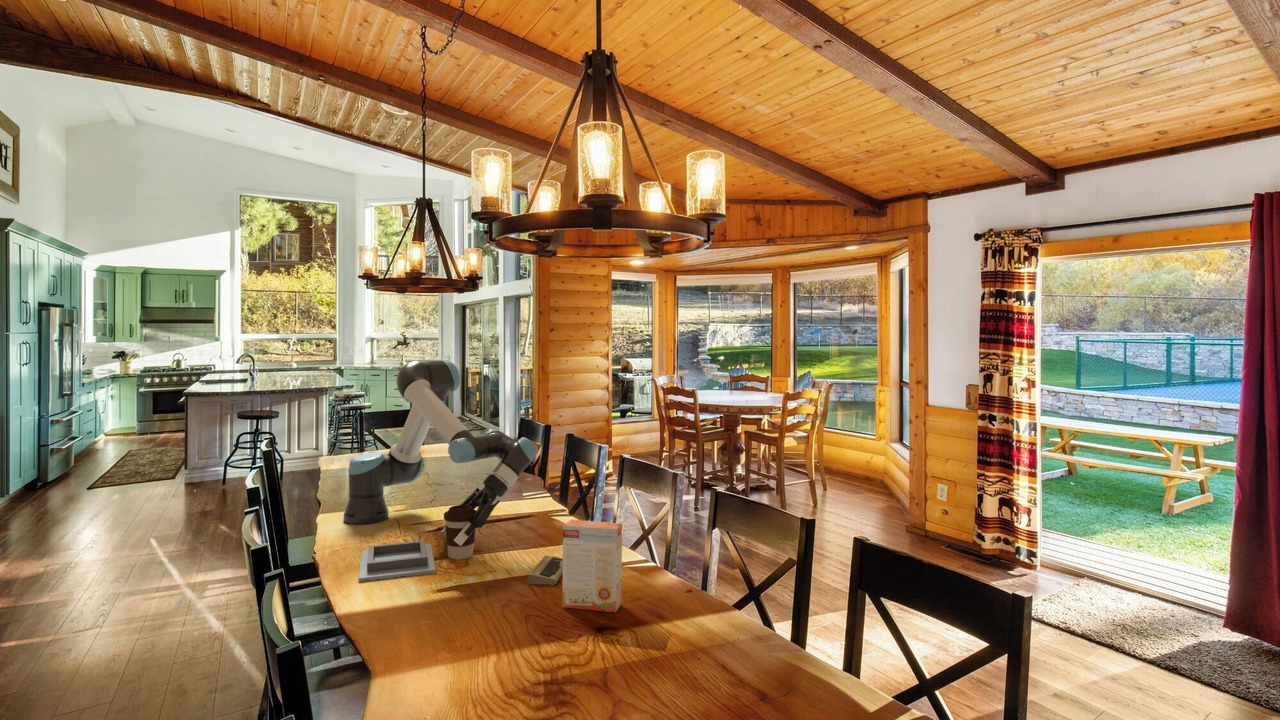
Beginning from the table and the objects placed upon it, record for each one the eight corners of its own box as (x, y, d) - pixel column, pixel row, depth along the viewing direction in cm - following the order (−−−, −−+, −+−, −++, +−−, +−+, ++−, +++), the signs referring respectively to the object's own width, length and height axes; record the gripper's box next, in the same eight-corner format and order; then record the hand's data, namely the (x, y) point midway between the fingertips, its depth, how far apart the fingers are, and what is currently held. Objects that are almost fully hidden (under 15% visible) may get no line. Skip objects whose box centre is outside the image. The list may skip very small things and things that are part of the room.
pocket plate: (362, 553, 194) (362, 542, 194) (430, 546, 201) (430, 535, 201) (358, 582, 171) (358, 569, 171) (435, 573, 179) (435, 560, 179)
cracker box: (622, 604, 160) (623, 522, 159) (615, 614, 154) (617, 529, 153) (569, 598, 163) (570, 518, 162) (561, 607, 157) (562, 524, 156)
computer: (555, 587, 171) (555, 575, 171) (526, 585, 172) (527, 573, 172) (569, 566, 187) (569, 555, 187) (543, 565, 188) (543, 554, 188)
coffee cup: (445, 563, 186) (445, 513, 186) (441, 552, 195) (442, 504, 195) (479, 559, 190) (480, 510, 190) (474, 549, 199) (474, 502, 199)
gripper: (523, 494, 192) (473, 556, 184) (493, 481, 210) (446, 536, 201) (507, 479, 189) (455, 541, 180) (478, 467, 207) (429, 522, 198)
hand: (450, 538), depth 191 cm, fingers closed on coffee cup, 10 cm apart
